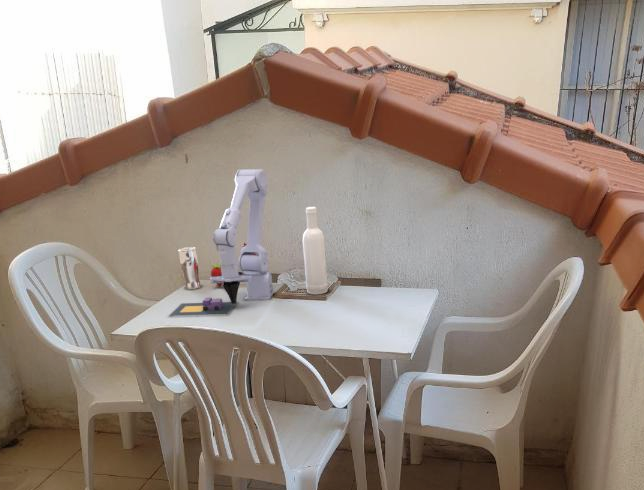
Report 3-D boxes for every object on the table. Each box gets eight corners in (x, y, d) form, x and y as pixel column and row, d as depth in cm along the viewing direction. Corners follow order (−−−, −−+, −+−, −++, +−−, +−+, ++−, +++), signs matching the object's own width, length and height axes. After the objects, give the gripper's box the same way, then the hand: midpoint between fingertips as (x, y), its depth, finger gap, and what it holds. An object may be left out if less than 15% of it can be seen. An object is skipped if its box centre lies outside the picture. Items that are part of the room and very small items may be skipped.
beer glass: (194, 290, 271) (187, 251, 264) (181, 288, 275) (174, 250, 268) (205, 285, 276) (199, 247, 269) (192, 284, 280) (186, 246, 273)
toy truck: (223, 305, 248) (222, 296, 247) (219, 310, 244) (218, 300, 242) (206, 306, 250) (205, 297, 248) (202, 310, 245) (200, 301, 243)
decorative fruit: (230, 283, 276) (227, 258, 271) (224, 288, 269) (220, 263, 264) (216, 283, 277) (212, 258, 272) (210, 289, 270) (206, 263, 266)
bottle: (330, 288, 259) (324, 205, 245) (325, 294, 252) (319, 209, 238) (309, 288, 261) (302, 205, 247) (304, 294, 254) (297, 210, 240)
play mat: (237, 302, 252) (237, 301, 252) (227, 315, 240) (226, 314, 240) (182, 304, 255) (182, 303, 255) (169, 316, 243) (169, 315, 243)
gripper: (205, 267, 236) (211, 306, 242) (246, 266, 233) (251, 305, 240) (211, 262, 242) (216, 300, 248) (251, 261, 240) (255, 299, 246)
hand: (234, 302), depth 245 cm, fingers closed
